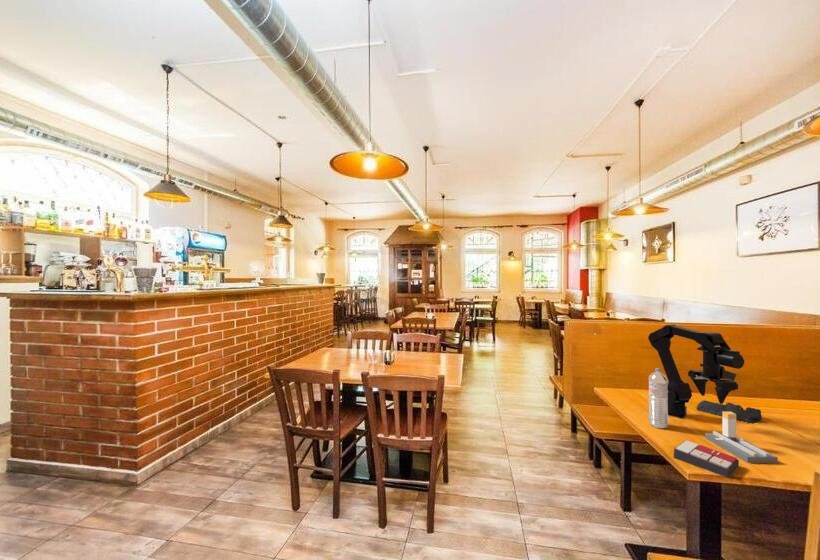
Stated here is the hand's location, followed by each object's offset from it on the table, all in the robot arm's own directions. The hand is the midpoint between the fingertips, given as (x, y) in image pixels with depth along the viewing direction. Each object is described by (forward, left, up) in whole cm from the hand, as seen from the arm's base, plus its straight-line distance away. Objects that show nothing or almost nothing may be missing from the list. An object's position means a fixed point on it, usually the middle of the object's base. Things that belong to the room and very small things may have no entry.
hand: (711, 399), depth 143 cm
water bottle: (-16, -12, -13) cm, 24 cm away
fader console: (+10, -13, -13) cm, 21 cm away
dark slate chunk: (+1, +29, -14) cm, 32 cm away
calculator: (+4, -34, -14) cm, 37 cm away
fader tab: (+7, -11, -11) cm, 17 cm away
